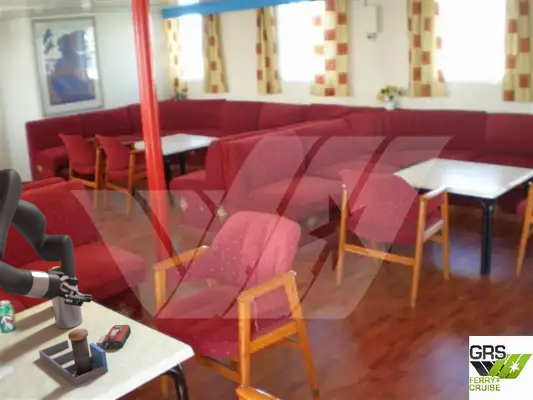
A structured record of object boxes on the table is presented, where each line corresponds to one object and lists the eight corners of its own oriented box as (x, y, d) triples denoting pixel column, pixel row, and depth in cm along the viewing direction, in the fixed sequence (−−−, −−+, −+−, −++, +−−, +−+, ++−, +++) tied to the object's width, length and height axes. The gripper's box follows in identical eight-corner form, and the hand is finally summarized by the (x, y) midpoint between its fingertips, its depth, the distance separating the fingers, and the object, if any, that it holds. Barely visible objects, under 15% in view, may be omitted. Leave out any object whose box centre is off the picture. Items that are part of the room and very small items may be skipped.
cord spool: (71, 375, 192) (64, 333, 188) (88, 367, 196) (82, 326, 192) (80, 381, 188) (73, 339, 184) (97, 374, 192) (90, 332, 188)
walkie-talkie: (108, 331, 219) (89, 361, 200) (106, 320, 218) (87, 349, 199) (133, 331, 219) (116, 361, 200) (131, 319, 218) (114, 348, 198)
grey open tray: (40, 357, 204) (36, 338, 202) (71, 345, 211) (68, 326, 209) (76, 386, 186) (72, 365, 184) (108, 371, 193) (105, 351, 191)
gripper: (57, 287, 172) (102, 293, 185) (34, 259, 180) (78, 267, 193) (44, 310, 173) (89, 314, 186) (21, 281, 181) (67, 287, 194)
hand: (84, 290), depth 190 cm, fingers open, 8 cm apart
